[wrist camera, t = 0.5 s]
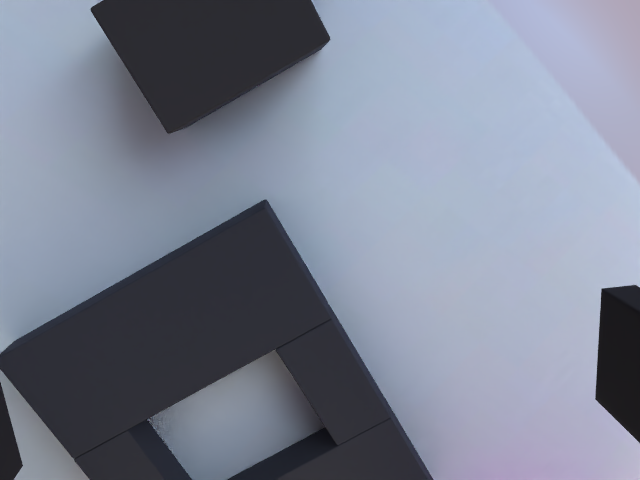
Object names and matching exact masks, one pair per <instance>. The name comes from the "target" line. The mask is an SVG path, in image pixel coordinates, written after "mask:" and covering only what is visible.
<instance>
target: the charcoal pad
mask: <svg viewBox="0 0 640 480" xmlns="http://www.w3.org/2000/svg"><path fill="white" fill-rule="evenodd" d="M274 349H276V351H277V353H278V354H279V356H280V357H281V359H282V360H283V362H284V364H285V365H286V367H287V368H288V370H289V371H290V373H291V374H292V376H293V378H294V379H295V381H296V382H297V384H298V385H299V387H300V388H301V390H302V392H303V393H304V395H305V396H306V398H307V399H308V401H309V402H310V404H311V406H312V407H313V409H314V410H315V412H316V413H317V415H318V416H319V418H320V420H321V421H322V423H323V424H324V426H325V427H326V428H324V429H322V430H320V431H318V432H316V433H314V434H313V435H311V436H309V437H307V438H305V439H303V440H301V441H299V442H298V443H296V444H294V445H292V446H290V447H288V448H286V449H284V450H282V451H281V452H279V453H277V454H275V455H273V456H271V457H269V458H267V459H265V460H264V461H262V462H260V463H258V464H256V465H254V466H252V467H250V468H249V469H247V470H245V471H243V472H241V473H239V474H237V475H235V476H233V477H232V478H230V479H228V480H433V478H432V477H431V475H430V473H429V472H428V470H427V468H426V466H425V465H424V463H423V461H422V460H421V458H420V456H419V455H418V453H417V451H416V450H415V448H414V446H413V445H412V443H411V441H410V440H409V438H408V436H407V435H406V433H405V431H404V430H403V428H402V426H401V424H400V423H399V421H398V419H397V418H396V416H395V414H394V413H393V411H392V409H391V408H390V406H389V404H388V403H387V401H386V399H385V398H384V396H383V394H382V393H381V391H380V389H379V388H378V386H377V384H376V383H375V381H374V379H373V378H372V376H371V374H370V372H369V371H368V369H367V367H366V366H365V364H364V362H363V361H362V359H361V357H360V356H359V354H358V352H357V351H356V349H355V347H354V346H353V344H352V342H351V341H350V339H349V337H348V335H347V334H346V332H345V330H344V329H343V327H342V325H341V324H340V322H339V320H338V319H337V317H336V315H335V314H334V312H333V310H332V309H331V307H330V305H329V304H328V302H327V300H326V299H325V297H324V295H323V293H322V292H321V290H320V288H319V287H318V285H317V283H316V282H315V280H314V278H313V277H312V275H311V273H310V272H309V270H308V268H307V267H306V265H305V263H304V262H303V260H302V258H301V257H300V255H299V253H298V251H297V250H296V248H295V246H294V245H293V243H292V241H291V240H290V238H289V236H288V235H287V233H286V231H285V230H284V228H283V226H282V225H281V223H280V221H279V220H278V218H277V216H276V214H275V213H274V211H273V209H272V208H271V206H270V204H269V203H268V201H267V200H263V201H261V202H260V203H258V204H256V205H254V206H253V207H251V208H249V209H247V210H245V211H244V212H242V213H240V214H238V215H237V216H235V217H233V218H231V219H230V220H228V221H226V222H224V223H222V224H221V225H219V226H217V227H215V228H214V229H212V230H210V231H208V232H207V233H205V234H203V235H201V236H199V237H198V238H196V239H194V240H192V241H191V242H189V243H187V244H185V245H184V246H182V247H180V248H178V249H177V250H175V251H173V252H171V253H169V254H168V255H166V256H164V257H162V258H161V259H159V260H157V261H155V262H154V263H152V264H150V265H148V266H146V267H145V268H143V269H141V270H139V271H138V272H136V273H134V274H132V275H131V276H129V277H127V278H125V279H123V280H122V281H120V282H118V283H116V284H115V285H113V286H111V287H109V288H108V289H106V290H104V291H102V292H100V293H99V294H97V295H95V296H93V297H92V298H90V299H88V300H86V301H85V302H83V303H81V304H79V305H77V306H76V307H74V308H72V309H70V310H69V311H67V312H65V313H63V314H62V315H60V316H58V317H56V318H54V319H53V320H51V321H49V322H47V323H46V324H44V325H42V326H40V327H39V328H37V329H35V330H33V331H31V332H30V333H28V334H26V335H24V336H23V337H21V338H19V339H17V340H16V341H14V342H13V343H12V344H11V345H10V346H9V347H7V348H6V349H5V350H4V351H3V352H2V353H1V354H0V369H1V370H2V372H3V373H4V374H5V375H6V377H7V378H8V379H9V380H10V381H11V383H12V384H13V385H14V386H15V388H16V389H17V390H18V391H19V392H20V394H21V395H22V396H23V397H24V399H25V400H26V401H27V402H28V403H29V405H30V406H31V407H32V408H33V410H34V411H35V412H36V413H37V414H38V416H39V417H40V418H41V419H42V421H43V422H44V423H45V424H46V425H47V427H48V428H49V429H50V430H51V432H52V433H53V434H54V435H55V437H56V438H57V439H58V440H59V441H60V443H61V444H62V445H63V446H64V448H65V449H66V450H67V451H68V452H69V454H70V455H71V456H72V457H73V458H75V459H74V461H75V462H76V463H77V464H78V465H79V467H80V468H81V469H82V470H83V472H84V473H85V474H86V475H87V476H88V478H89V479H90V480H192V479H191V478H190V477H189V475H188V474H187V473H186V471H185V470H184V469H183V467H182V466H181V465H180V463H179V462H178V461H177V459H176V458H175V457H174V455H173V454H172V453H171V451H170V450H169V449H168V447H167V446H166V445H165V443H164V442H163V441H162V439H161V438H160V437H159V435H158V434H157V433H156V431H155V430H154V429H153V427H152V426H151V425H150V423H149V422H148V421H147V419H148V418H149V417H151V416H153V415H155V414H157V413H159V412H161V411H162V410H164V409H166V408H168V407H170V406H172V405H173V404H175V403H177V402H179V401H181V400H183V399H184V398H186V397H188V396H190V395H192V394H194V393H195V392H197V391H199V390H201V389H203V388H205V387H206V386H208V385H210V384H212V383H214V382H216V381H217V380H219V379H221V378H223V377H225V376H227V375H228V374H230V373H232V372H234V371H236V370H238V369H239V368H241V367H243V366H245V365H247V364H249V363H250V362H252V361H254V360H256V359H258V358H260V357H261V356H263V355H265V354H267V353H269V352H271V351H272V350H274Z"/></svg>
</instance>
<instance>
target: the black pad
mask: <svg viewBox="0 0 640 480" xmlns="http://www.w3.org/2000/svg"><path fill="white" fill-rule="evenodd" d="M91 12H92V13H93V15H94V17H95V18H96V20H97V21H98V23H99V25H100V26H101V28H102V29H103V31H104V33H105V34H106V36H107V37H108V39H109V41H110V42H111V44H112V45H113V47H114V49H115V50H116V52H117V53H118V55H119V57H120V58H121V60H122V61H123V63H124V65H125V66H126V68H127V69H128V71H129V73H130V74H131V76H132V77H133V79H134V81H135V82H136V84H137V85H138V87H139V89H140V90H141V92H142V93H143V95H144V96H145V98H146V100H147V101H148V103H149V104H150V106H151V108H152V109H153V111H154V112H155V114H156V116H157V117H158V119H159V120H160V122H161V124H162V125H163V127H164V128H165V130H166V132H167V133H168V134H169V133H173V132H175V131H178V130H181V129H184V128H186V127H188V126H190V125H192V124H193V123H195V122H197V121H198V120H200V119H202V118H204V117H205V116H207V115H209V114H211V113H212V112H214V111H216V110H217V109H219V108H221V107H223V106H224V105H226V104H228V103H229V102H231V101H233V100H235V99H236V98H238V97H240V96H242V95H243V94H245V93H247V92H248V91H250V90H252V89H254V88H255V87H257V86H259V85H260V84H262V83H264V82H266V81H267V80H269V79H271V78H272V77H274V76H276V75H278V74H279V73H281V72H283V71H285V70H286V69H288V68H290V67H291V66H293V65H295V64H297V63H298V62H300V61H302V60H303V59H305V58H307V57H309V56H310V55H312V54H314V53H316V52H317V51H319V50H321V49H322V48H323V47H324V46H325V45H326V44H327V43H328V42H329V40H330V36H329V35H328V33H327V31H326V29H325V27H324V25H323V23H322V21H321V19H320V17H319V15H318V13H317V11H316V9H315V7H314V5H313V3H312V1H311V0H103V1H101V2H100V3H98V4H96V5H95V6H93V7H91Z"/></svg>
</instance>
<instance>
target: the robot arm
mask: <svg viewBox="0 0 640 480" xmlns="http://www.w3.org/2000/svg"><path fill="white" fill-rule="evenodd" d="M595 399H596V400H597V401H598V402H599V403H600V404H601V405H602V406H603V407H604V408H605V409H606V410H607V411H608V412H609V413H610V414H611V415H612V416H613V417H614V418H615V419H616V420H617V421H618V422H619V423H620V424H621V425H622V426H623V427H624V428H625V429H626V430H627V431H628V432H629V433H630V434H631V435H632V436H633V437H634V438H635V439H636V440H637V441H638V442H639V443H640V287H638V286H636V285H631V286H622V287H613V288H603V289H602V292H601V309H600V327H599V345H598V363H597V380H596V398H595ZM22 466H23V465H22V461H21V457H20V453H19V450H18V446H17V442H16V439H15V435H14V431H13V427H12V424H11V420H10V416H9V413H8V409H7V405H6V401H5V398H4V394H3V390H2V387H1V383H0V480H13V479H14V478H15V477H16V475H17V474H18V472H19V471H20V469H21V468H22Z"/></svg>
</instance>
